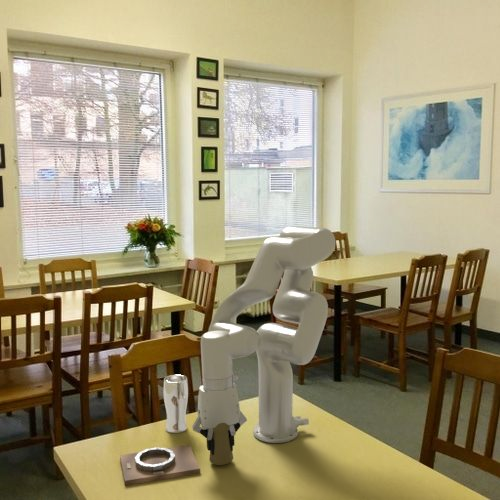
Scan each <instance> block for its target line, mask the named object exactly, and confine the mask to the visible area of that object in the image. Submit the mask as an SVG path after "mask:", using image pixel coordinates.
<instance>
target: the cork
mask: <svg viewBox="0 0 500 500" xmlns="http://www.w3.org/2000/svg"><path fill="white" fill-rule="evenodd" d="M229 427H230V425H227V424H226V423H220V424H218V425H217V426H216V427H215V428H213V434H212V436H213V439H214V455H212V454H211V451H210V450H209V459H208V460H209V461H210V463H211V464H213V465H217V466H223V465H227V464H229V463H231V462H232V461H233V460H234V454H233V451H231V448H230V441H229V431H228V429H229Z"/></svg>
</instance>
